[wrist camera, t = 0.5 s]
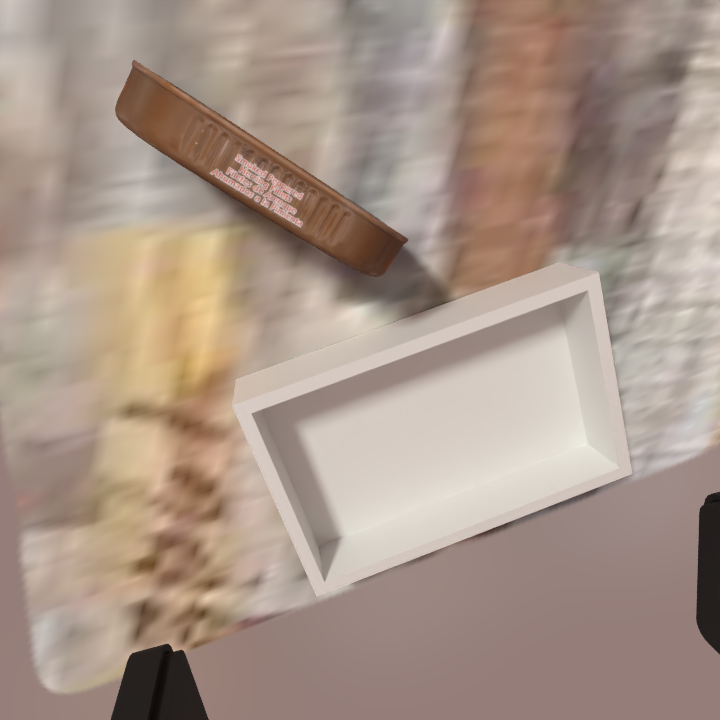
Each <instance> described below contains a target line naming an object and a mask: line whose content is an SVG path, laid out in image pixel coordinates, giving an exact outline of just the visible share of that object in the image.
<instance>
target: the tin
mask: <svg viewBox="0 0 720 720" xmlns="http://www.w3.org/2000/svg"><path fill="white" fill-rule="evenodd" d="M132 66H133V68H132V70H131V72H130V75H129V77H128V79H127V81H126V83H125V85H124V88H123V90H122V92H121V94H120V96H119V98H118V101H117V104H116V108H115V111H116V116H117V117H118V119H119V120H120V121H121V123H122V124H123V125H124V126H126V127H127V128H128V129H129V130H131V131H132V132H133V133H134V134H136V135H137V136H138V137H139V138H141V139H142V140H144V141H145V142H147V143H148V144H150V145H151V146H152V147H154V148H156V149H157V150H159V151H160V152H162V153H163V154H165V155H166V156H168V157H169V158H171V159H172V160H174V161H175V162H177V163H178V164H180V165H182V166H183V167H185V168H186V169H188V170H190V171H191V172H193V173H195V174H196V175H198V176H199V177H201V178H202V179H204V180H206V181H208V182H209V183H211V184H212V185H214V186H216V187H217V188H219V189H220V190H222V191H223V192H225V193H227V194H229V195H230V196H232V197H233V198H235V199H236V200H238V201H240V202H241V203H243V204H244V205H246V206H248V207H249V208H251V209H253V210H254V211H256V212H258V213H259V214H261V215H262V216H264V217H266V218H268V219H269V220H271V221H272V222H274V223H276V224H277V225H279V226H281V227H282V228H284V229H286V230H288V231H289V232H291V233H292V234H294V235H296V236H297V237H299V238H301V239H303V240H304V241H306V242H308V243H309V244H311V245H313V246H315V247H316V248H318V249H319V250H321V251H323V252H324V253H326V254H328V255H330V256H331V257H333V258H335V259H337V260H339V261H340V262H342V263H344V264H346V265H348V266H350V267H352V268H353V269H356V270H358V271H360V272H362V273H364V274H367V275H370V276H374V277H379V276H381V275H383V274H384V273H385V272H386V270H387V269H388V267H389V266H390V264H391V263H392V261H393V260H394V258H395V256H396V255H397V253H398V252H399V250H400V249H401V247H402V246H403V244H405V243H406V242H407V241H408V239H407V238H406V237H404V236H403V235H401V234H400V233H398V232H397V231H395V230H393V229H392V228H390V227H389V226H387V225H386V224H385V223H383V222H382V221H380V220H379V219H378V218H376V217H375V216H374V215H372V214H371V213H369V212H368V211H366V210H365V209H363V208H362V207H360V206H358V205H357V204H355V203H354V202H352V201H351V200H349V199H347V198H345V197H344V196H343V195H341V194H340V193H338V192H337V191H335V190H334V189H332V188H331V187H329V186H328V185H326V184H325V183H323V182H322V181H320V180H319V179H317V178H316V177H314V176H313V175H311V174H310V173H308V172H307V171H305V170H304V169H302V168H300V167H299V166H297V165H296V164H294V163H293V162H291V161H290V160H288V159H287V158H285V157H284V156H282V155H281V154H279V153H278V152H276V151H275V150H273V149H272V148H270V147H269V146H267V145H266V144H264V143H263V142H261V141H260V140H258V139H257V138H255V137H253V136H252V135H250V134H249V133H247V132H246V131H244V130H243V129H241V128H240V127H238V126H237V125H235V124H234V123H232V122H230V121H229V120H227V119H226V118H224V117H223V116H221V115H220V114H218V113H217V112H215V111H213V110H212V109H210V108H208V107H207V106H206V105H204V104H203V103H201V102H200V101H198V100H197V99H195V98H194V97H192V96H190V95H189V94H187V93H186V92H184V91H182V90H181V89H179V88H178V87H176V86H174V85H173V84H171V83H170V82H168V81H167V80H165V79H163V78H162V77H160V76H159V75H157V74H155V73H154V72H152V71H150V70H149V69H147V68H146V67H144V66H143V65H141V64H140V63H138V62H137V61H135V60H133V62H132Z"/></svg>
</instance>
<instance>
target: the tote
mask: <svg viewBox="0 0 720 720" xmlns="http://www.w3.org/2000/svg"><path fill="white" fill-rule="evenodd" d="M232 407H233V409H234V411H235V414H236V416H237V418H238V420H239V423H240V425H241V427H242V429H243V432H244V434H245V436H246V438H247V441H248V443H249V445H250V447H251V450H252V452H253V454H254V456H255V459H256V461H257V463H258V465H259V468H260V470H261V472H262V474H263V477H264V479H265V481H266V483H267V486H268V488H269V490H270V492H271V495H272V497H273V499H274V501H275V504H276V506H277V508H278V510H279V513H280V515H281V517H282V519H283V522H284V524H285V526H286V528H287V531H288V533H289V535H290V537H291V540H292V542H293V544H294V546H295V549H296V551H297V553H298V555H299V558H300V560H301V562H302V565H303V567H304V569H305V571H306V574H307V576H308V578H309V580H310V583H311V585H312V587H313V589H314V592H315V594H316V596H320V595H323V594H325V593H328V592H330V591H333V590H335V589H338V588H341V587H343V586H346V585H348V584H351V583H353V582H356V581H358V580H361V579H364V578H366V577H369V576H371V575H374V574H376V573H379V572H382V571H384V570H387V569H389V568H392V567H394V566H397V565H400V564H402V563H405V562H407V561H410V560H412V559H415V558H418V557H420V556H423V555H425V554H428V553H430V552H433V551H436V550H438V549H441V548H443V547H446V546H448V545H451V544H454V543H456V542H459V541H461V540H464V539H466V538H469V537H472V536H474V535H477V534H479V533H482V532H484V531H487V530H490V529H492V528H495V527H497V526H500V525H502V524H505V523H508V522H510V521H513V520H515V519H518V518H520V517H523V516H526V515H528V514H531V513H533V512H536V511H538V510H541V509H544V508H546V507H549V506H551V505H554V504H556V503H559V502H561V501H564V500H567V499H569V498H572V497H574V496H577V495H579V494H582V493H585V492H587V491H590V490H592V489H595V488H597V487H600V486H603V485H605V484H608V483H610V482H613V481H615V480H618V479H621V478H623V477H626V476H628V475H631V474H632V469H631V463H630V457H629V451H628V445H627V439H626V433H625V427H624V421H623V415H622V409H621V403H620V397H619V391H618V385H617V379H616V373H615V367H614V361H613V355H612V349H611V343H610V337H609V331H608V325H607V319H606V313H605V307H604V301H603V295H602V289H601V283H600V277H599V272H595V271H591V270H587V269H583V268H579V267H574V266H570V265H566V264H562V263H556V264H553V265H550V266H548V267H545V268H542V269H539V270H537V271H534V272H531V273H528V274H525V275H523V276H520V277H517V278H514V279H512V280H509V281H506V282H503V283H501V284H498V285H495V286H492V287H490V288H487V289H484V290H481V291H478V292H476V293H473V294H470V295H467V296H465V297H462V298H459V299H456V300H454V301H451V302H448V303H445V304H442V305H440V306H437V307H434V308H431V309H429V310H426V311H423V312H420V313H418V314H415V315H412V316H409V317H407V318H404V319H401V320H398V321H395V322H393V323H390V324H387V325H384V326H382V327H379V328H376V329H373V330H371V331H368V332H365V333H362V334H359V335H357V336H354V337H351V338H348V339H346V340H343V341H340V342H337V343H335V344H332V345H329V346H326V347H324V348H321V349H318V350H315V351H312V352H310V353H307V354H304V355H301V356H299V357H296V358H293V359H290V360H288V361H285V362H282V363H279V364H276V365H274V366H271V367H268V368H265V369H263V370H260V371H257V372H254V373H252V374H249V375H246V376H243V377H240V378H238V379H236V384H235V390H234V397H233V403H232Z"/></svg>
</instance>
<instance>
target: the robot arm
mask: <svg viewBox="0 0 720 720" xmlns="http://www.w3.org/2000/svg"><path fill="white" fill-rule="evenodd" d="M699 513H700V514H699V546H698V580H697V582H698V583H697V615H696V619H697V625H698V628H699V630H700V632H701V634H702V636H703V637H704V638H705V640H706V641H707V642H708V643H709V644H710V645H711V646H712V647H713V648H714V649H715V650H716V651H717V652H718V653H719V654H720V492H717V493H713V494H711V495H708V496H707V498H706V499H705V503H704V505H703V506H702V507H701V508H700V512H699ZM111 720H209V719H208V717H207V714H206V711H205V708H204V705H203V703H202V700H201V697H200V695H199V692H198V689H197V686H196V683H195V680H194V677H193V675H192V672H191V669H190V666H189V664H188V661H187V658H186V655H185V653H184V651H183V650H179V651H175V652H173V650H172V647H171V646H170V645H169V644H164V645H161V646H157V647H153V648H150V649H146V650H142V651H139V652H135V653H132V654H131V655H130V657H129V659H128V661H127V665H126V668H125V672H124V675H123V679H122V682H121V686H120V689H119V693H118V696H117V700H116V703H115V707H114V710H113V714H112V717H111Z"/></svg>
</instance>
